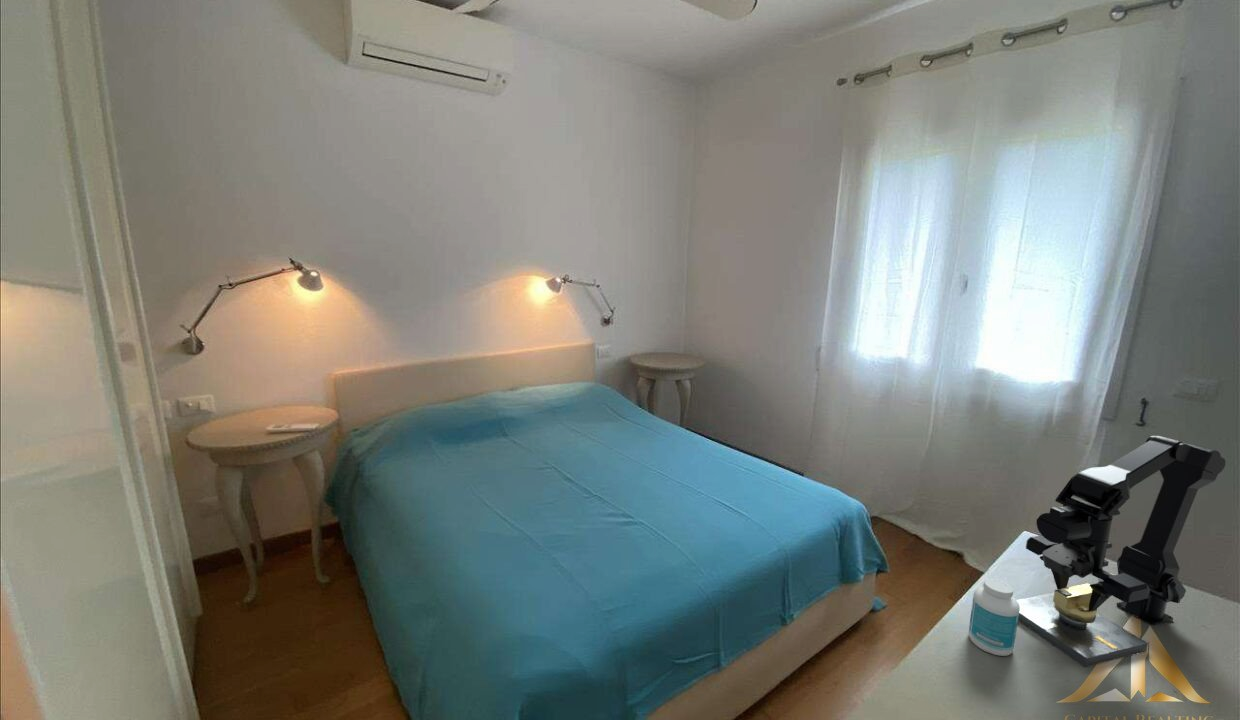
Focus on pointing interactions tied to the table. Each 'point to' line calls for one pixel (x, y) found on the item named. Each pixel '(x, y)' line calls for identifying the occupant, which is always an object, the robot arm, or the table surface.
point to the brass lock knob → (1075, 603)
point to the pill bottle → (994, 617)
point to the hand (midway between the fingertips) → (1075, 601)
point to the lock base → (1078, 633)
